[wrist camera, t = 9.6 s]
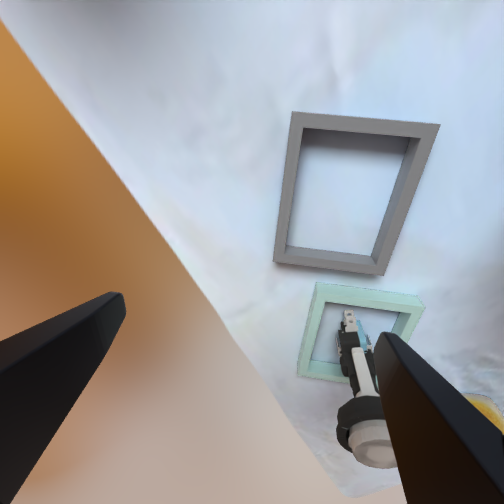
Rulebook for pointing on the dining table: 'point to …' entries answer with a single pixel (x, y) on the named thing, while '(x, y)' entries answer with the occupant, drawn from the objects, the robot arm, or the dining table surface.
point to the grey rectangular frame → (398, 203)
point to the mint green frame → (384, 300)
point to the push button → (362, 400)
